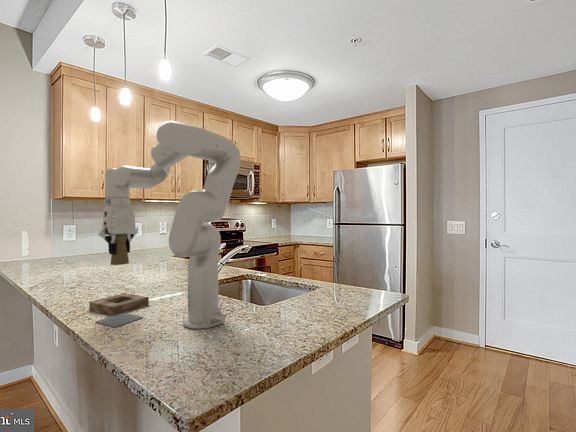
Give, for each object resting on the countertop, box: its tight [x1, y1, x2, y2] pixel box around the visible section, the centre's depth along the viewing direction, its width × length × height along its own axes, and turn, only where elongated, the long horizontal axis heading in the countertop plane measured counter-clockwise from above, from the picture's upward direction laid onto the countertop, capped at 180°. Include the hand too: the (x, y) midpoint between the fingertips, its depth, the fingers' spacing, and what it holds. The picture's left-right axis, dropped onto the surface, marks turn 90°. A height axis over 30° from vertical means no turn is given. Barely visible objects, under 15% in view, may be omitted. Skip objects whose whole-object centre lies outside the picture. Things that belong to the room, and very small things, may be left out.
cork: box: [110, 234, 130, 266], centre depth 116 cm, size 6×6×11 cm
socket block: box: [88, 292, 150, 317], centre depth 119 cm, size 14×14×3 cm
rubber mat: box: [95, 312, 144, 328], centre depth 105 cm, size 10×10×1 cm
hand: (119, 252), depth 116 cm, fingers closed on cork, 4 cm apart
